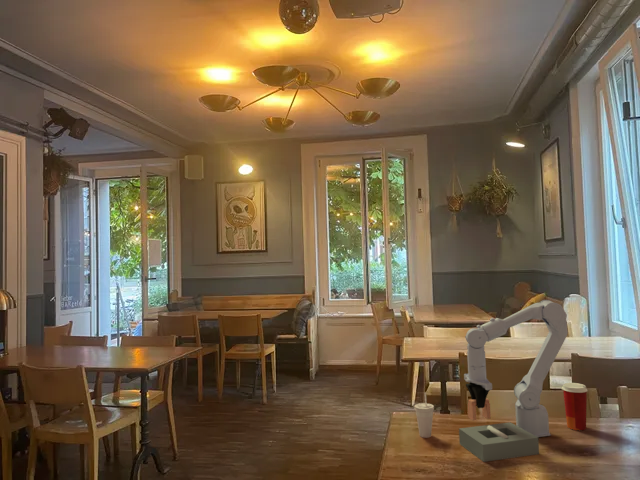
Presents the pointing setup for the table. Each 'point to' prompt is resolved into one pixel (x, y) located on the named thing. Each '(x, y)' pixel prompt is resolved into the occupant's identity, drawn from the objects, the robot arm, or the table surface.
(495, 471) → the table surface
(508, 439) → the grey panel with window
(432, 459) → the table surface
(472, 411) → the orange arch block
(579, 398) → the paper cup
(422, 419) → the smoothie
